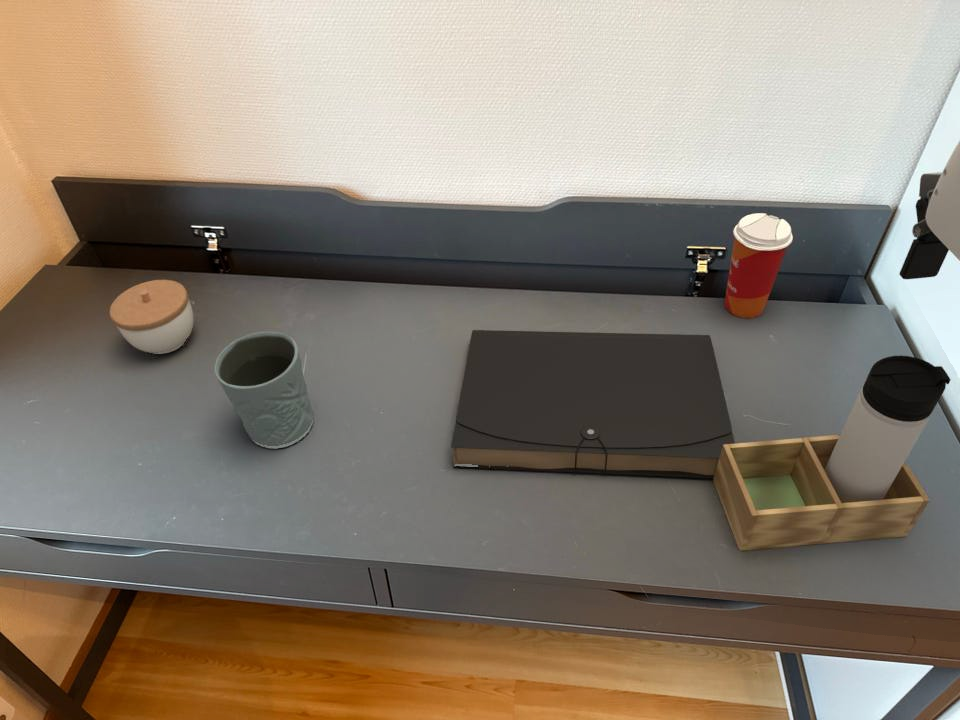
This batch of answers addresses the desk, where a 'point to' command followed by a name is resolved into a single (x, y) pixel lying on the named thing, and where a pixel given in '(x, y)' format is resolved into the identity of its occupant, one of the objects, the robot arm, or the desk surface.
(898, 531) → the storage box
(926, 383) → the travel mug
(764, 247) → the paper cup
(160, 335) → the trinket box
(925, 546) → the desk surface
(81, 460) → the desk surface
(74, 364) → the desk surface
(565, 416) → the file folder
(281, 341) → the green ceramic cup
